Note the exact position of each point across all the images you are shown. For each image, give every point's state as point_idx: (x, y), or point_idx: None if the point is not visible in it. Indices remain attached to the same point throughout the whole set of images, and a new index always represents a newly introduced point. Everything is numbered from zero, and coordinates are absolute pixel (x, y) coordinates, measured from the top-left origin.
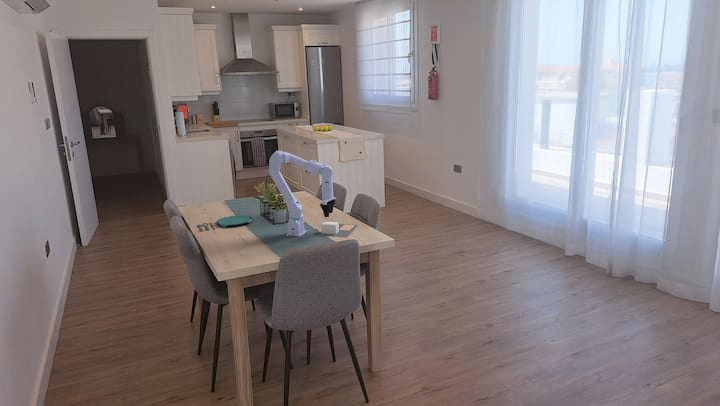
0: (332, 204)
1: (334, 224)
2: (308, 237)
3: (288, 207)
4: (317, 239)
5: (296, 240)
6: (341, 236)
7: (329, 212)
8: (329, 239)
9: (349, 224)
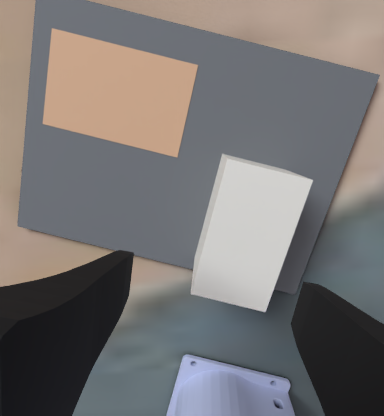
0: (76, 315)
1: (297, 194)
2: None
3: None
4: (352, 284)
5: None
6: (349, 124)
7: (128, 286)
8: (369, 209)
9: (36, 78)
